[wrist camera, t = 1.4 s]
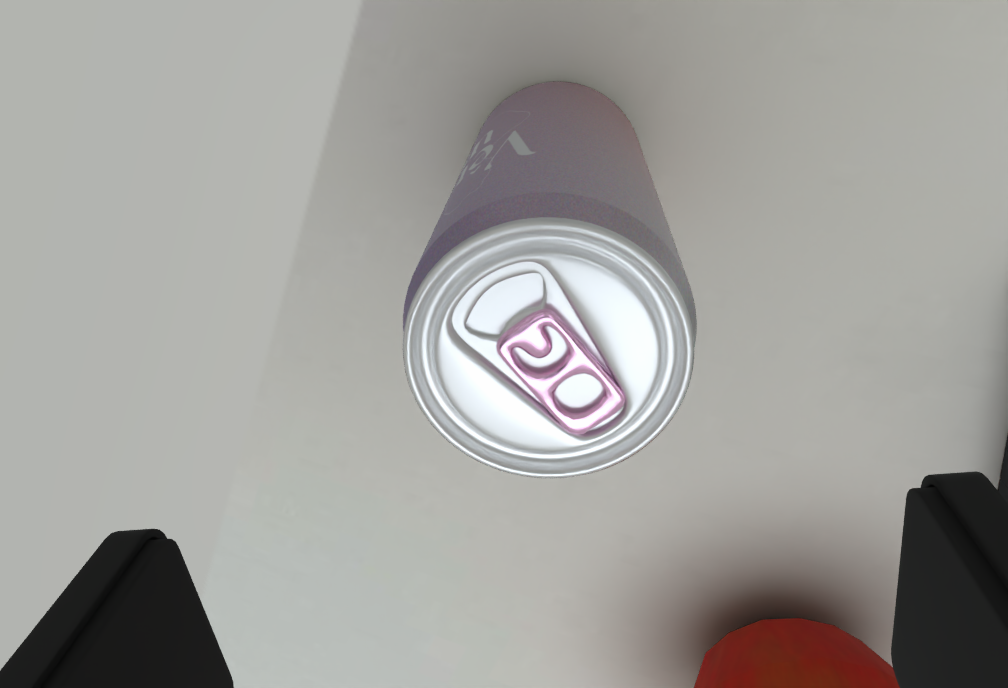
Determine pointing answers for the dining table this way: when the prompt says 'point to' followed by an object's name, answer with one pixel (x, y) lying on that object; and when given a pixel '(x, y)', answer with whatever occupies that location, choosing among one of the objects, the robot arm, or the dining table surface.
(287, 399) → the dining table surface
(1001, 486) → the socket pad
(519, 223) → the beverage can
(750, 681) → the apple
